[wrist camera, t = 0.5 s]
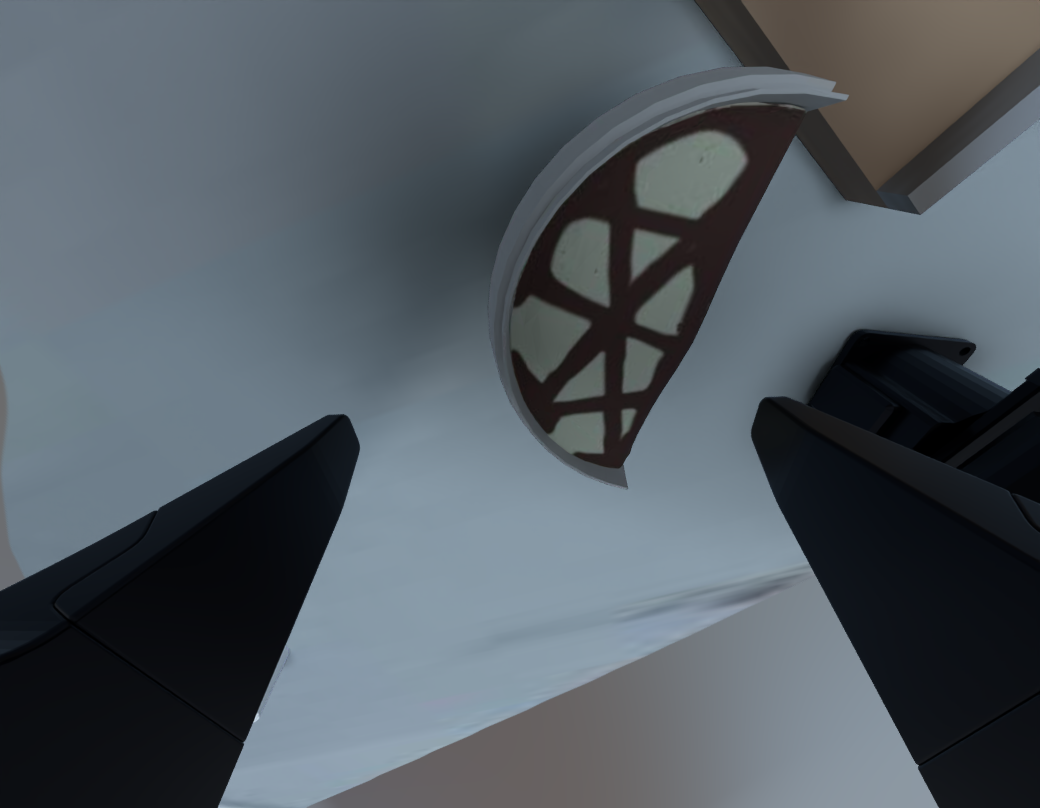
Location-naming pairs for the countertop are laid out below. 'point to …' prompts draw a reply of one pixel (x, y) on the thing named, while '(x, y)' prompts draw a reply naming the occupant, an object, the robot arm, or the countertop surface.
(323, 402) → the countertop surface
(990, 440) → the robot arm
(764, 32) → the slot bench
